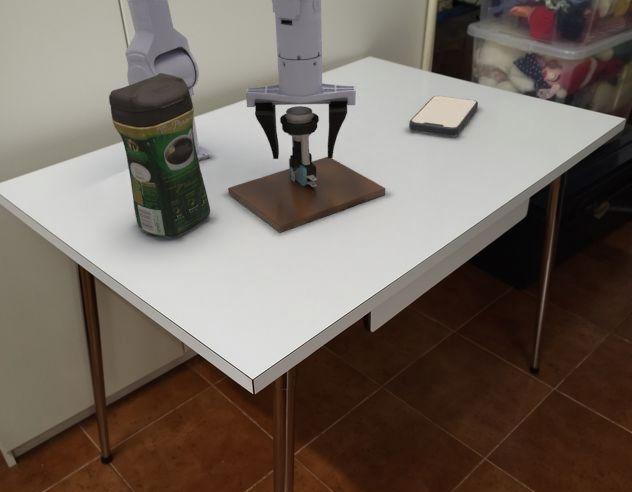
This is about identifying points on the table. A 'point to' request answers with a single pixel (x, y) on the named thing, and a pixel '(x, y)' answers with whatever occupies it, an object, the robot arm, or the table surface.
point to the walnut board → (305, 194)
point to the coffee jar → (161, 154)
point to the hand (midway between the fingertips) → (303, 155)
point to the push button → (300, 143)
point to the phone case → (443, 115)
